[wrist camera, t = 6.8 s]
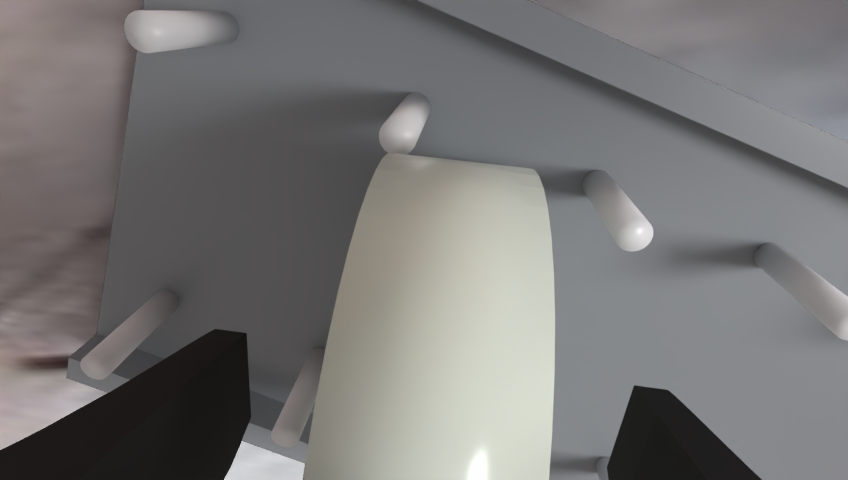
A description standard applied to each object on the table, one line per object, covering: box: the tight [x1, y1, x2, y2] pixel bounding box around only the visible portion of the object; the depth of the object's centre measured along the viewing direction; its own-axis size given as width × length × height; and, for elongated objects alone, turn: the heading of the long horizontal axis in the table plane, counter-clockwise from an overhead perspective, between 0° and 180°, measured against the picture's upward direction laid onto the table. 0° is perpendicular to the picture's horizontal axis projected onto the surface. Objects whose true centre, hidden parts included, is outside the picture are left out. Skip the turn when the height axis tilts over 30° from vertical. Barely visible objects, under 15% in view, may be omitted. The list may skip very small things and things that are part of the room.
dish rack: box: [66, 0, 848, 480], centre depth 13 cm, size 23×14×4 cm, turn 68°
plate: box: [303, 153, 555, 480], centre depth 10 cm, size 2×9×9 cm, turn 175°
